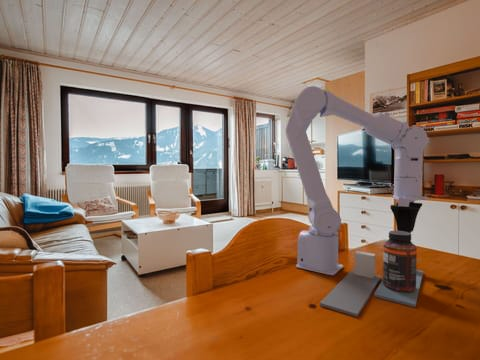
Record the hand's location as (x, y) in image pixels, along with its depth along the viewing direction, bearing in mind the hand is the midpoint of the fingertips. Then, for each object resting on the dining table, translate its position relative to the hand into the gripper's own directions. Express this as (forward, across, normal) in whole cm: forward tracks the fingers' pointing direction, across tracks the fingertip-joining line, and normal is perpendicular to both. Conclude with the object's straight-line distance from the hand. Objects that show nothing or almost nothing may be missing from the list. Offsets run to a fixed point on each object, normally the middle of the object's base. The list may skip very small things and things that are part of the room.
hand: (406, 233), depth 67 cm
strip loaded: (+9, -9, 0) cm, 13 cm away
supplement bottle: (+9, -13, 0) cm, 16 cm away
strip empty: (+9, -19, +7) cm, 22 cm away
